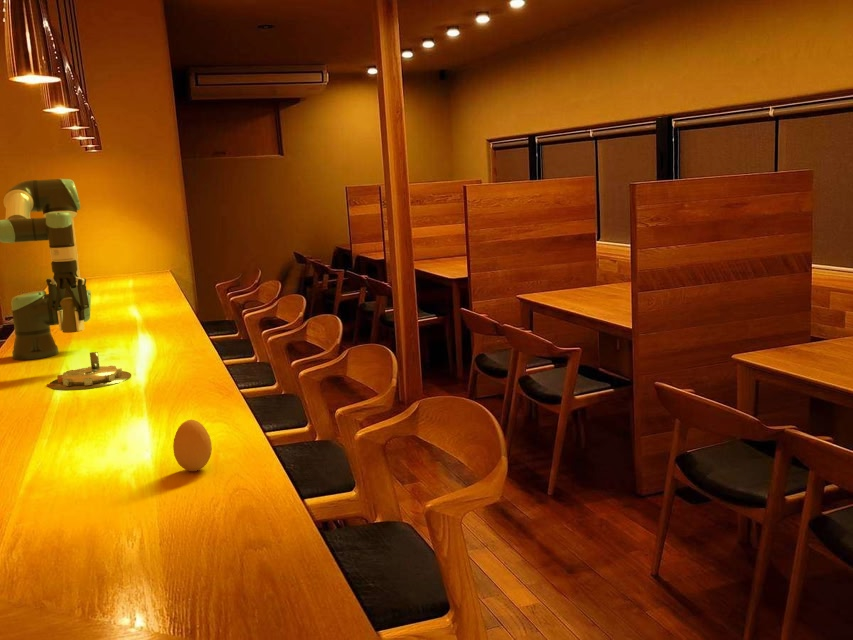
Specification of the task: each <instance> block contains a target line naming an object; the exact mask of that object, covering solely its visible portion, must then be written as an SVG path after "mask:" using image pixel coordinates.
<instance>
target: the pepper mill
mask: <svg viewBox="0 0 853 640" xmlns="http://www.w3.org/2000/svg"><path fill="white" fill-rule="evenodd" d="M60 305H61V307H62V308H63V330H62V333H64V334H69V333H70V334H71V333H79V332H82V331H83V330H81V331H77V327H76V319H75V310H77V309H76V307H75V304H74V302H73V299H72V298H64V299H62V300H61V302H60Z"/></svg>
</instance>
